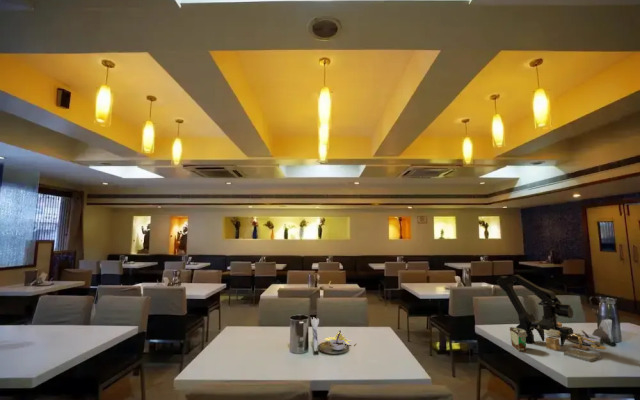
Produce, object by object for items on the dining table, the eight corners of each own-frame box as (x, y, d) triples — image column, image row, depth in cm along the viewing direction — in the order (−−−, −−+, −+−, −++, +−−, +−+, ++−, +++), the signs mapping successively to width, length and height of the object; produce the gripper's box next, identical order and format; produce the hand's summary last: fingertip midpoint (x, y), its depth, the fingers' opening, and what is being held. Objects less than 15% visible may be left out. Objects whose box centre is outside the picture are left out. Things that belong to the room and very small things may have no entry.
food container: (533, 353, 163) (531, 333, 164) (520, 352, 164) (518, 333, 165) (522, 345, 175) (521, 327, 176) (510, 345, 176) (509, 326, 177)
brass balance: (555, 343, 178) (554, 329, 179) (560, 341, 181) (559, 328, 182) (603, 355, 159) (601, 339, 160) (608, 353, 162) (606, 338, 163)
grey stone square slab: (563, 354, 160) (563, 352, 161) (574, 351, 166) (574, 348, 166) (589, 362, 151) (589, 359, 151) (600, 357, 156) (599, 355, 156)
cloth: (361, 347, 175) (361, 335, 175) (330, 350, 170) (330, 338, 170) (347, 335, 196) (347, 325, 197) (319, 338, 191) (319, 328, 192)
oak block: (546, 348, 170) (545, 337, 171) (550, 346, 173) (549, 336, 173) (555, 350, 167) (554, 340, 167) (560, 349, 169) (558, 338, 169)
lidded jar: (566, 336, 192) (564, 320, 193) (559, 339, 186) (557, 322, 187) (546, 331, 201) (544, 317, 202) (539, 334, 195) (537, 319, 196)
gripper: (524, 312, 176) (526, 340, 174) (561, 319, 160) (564, 351, 158) (534, 310, 182) (537, 338, 180) (572, 317, 165) (575, 347, 163)
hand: (552, 343), depth 170 cm, fingers open, 9 cm apart
